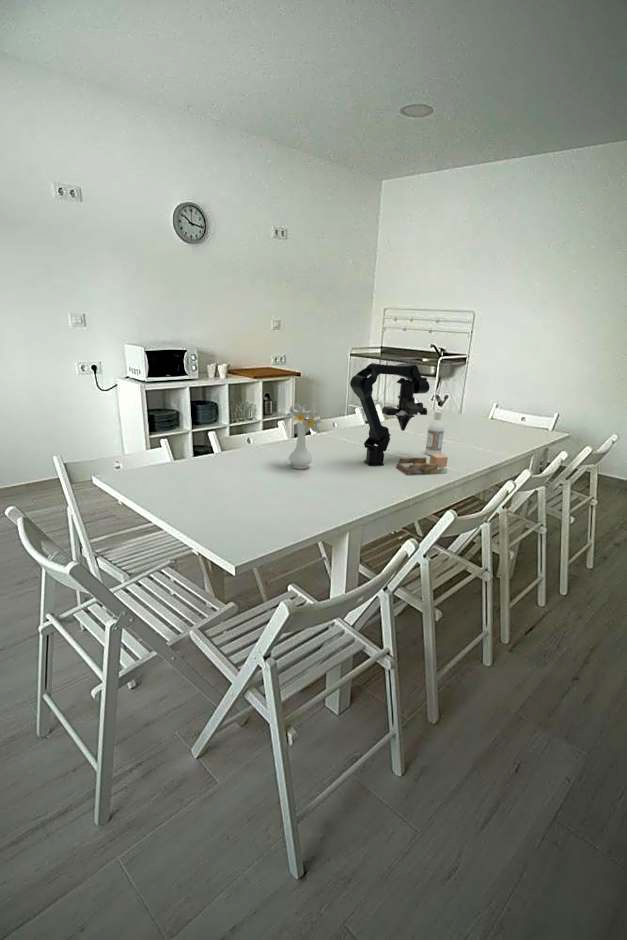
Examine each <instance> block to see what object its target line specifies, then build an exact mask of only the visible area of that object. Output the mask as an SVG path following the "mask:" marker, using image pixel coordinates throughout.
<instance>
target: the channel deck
mask: <svg viewBox="0 0 627 940" xmlns="http://www.w3.org/2000/svg"><path fill="white" fill-rule="evenodd" d="M427 459H428V458H427V457H426V456H425V457H423V456H422V457H421V456H420V457H402V458H400V457H399V459H398V462H397V463H396V469H397V470H399V471H401V472H402V473H404V474H405V475H406V476H411V475H421V474H422V475H437V474H442V475H443V474H447V473H448V468H447V467H438V464H429V463H430V461H427ZM403 464H409V466H405V465H403Z"/></svg>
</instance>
